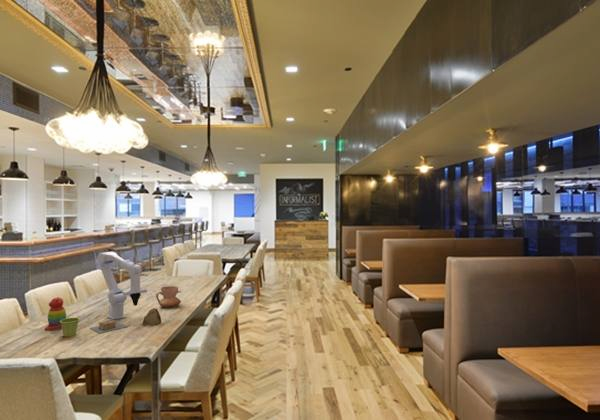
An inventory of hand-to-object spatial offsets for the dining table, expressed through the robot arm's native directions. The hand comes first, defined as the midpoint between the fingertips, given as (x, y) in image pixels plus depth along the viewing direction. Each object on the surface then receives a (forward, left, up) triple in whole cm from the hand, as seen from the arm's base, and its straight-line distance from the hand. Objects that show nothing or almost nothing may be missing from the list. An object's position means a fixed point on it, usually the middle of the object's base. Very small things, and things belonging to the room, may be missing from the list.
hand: (135, 305), depth 238 cm
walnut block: (+5, -16, -7) cm, 18 cm away
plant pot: (+1, -38, -10) cm, 39 cm away
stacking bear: (-21, -38, -10) cm, 44 cm away
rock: (+15, +3, -10) cm, 18 cm away
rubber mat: (+4, -18, -9) cm, 21 cm away
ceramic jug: (-14, +32, -10) cm, 36 cm away
